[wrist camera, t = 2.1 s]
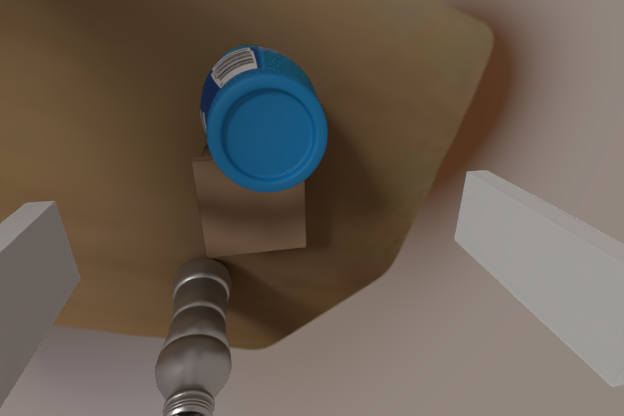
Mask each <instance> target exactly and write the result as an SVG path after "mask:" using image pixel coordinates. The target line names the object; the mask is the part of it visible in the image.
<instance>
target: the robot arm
mask: <svg viewBox="0 0 624 416" xmlns="http://www.w3.org/2000/svg"><path fill="white" fill-rule="evenodd" d="M454 240H455V241H456V242H457V243H458V244H459V245H460V246H461V247H462V248H463V249H465V250H466V251H467V252H468V253H469V254H470V255H471V256H472V257H473V258H474V259H475V260H476V261H477V262H478V263H480V264H481V265H482V266H483V267H484V268H485V269H486V270H487V271H488V272H489V273H490V274H491V275H492V276H494V277H495V278H496V279H497V280H498V281H499V282H500V283H501V284H502V285H503V286H504V287H505V288H506V289H507V290H509V291H510V292H511V293H512V294H513V295H514V296H515V297H516V298H517V299H518V300H519V301H520V302H521V303H522V304H523V305H525V306H526V307H527V308H528V309H529V310H530V311H531V312H532V313H533V314H534V315H535V316H536V317H537V318H538V319H540V320H541V321H542V322H543V323H544V324H545V325H546V326H547V327H548V328H549V329H551V331H552V332H553V333H555V334H556V335H557V336H558V337H559V338H560V339H561V340H562V341H563V342H564V343H565V344H567V346H568V347H570V348H571V349H572V350H573V351H574V352H575V353H576V354H577V355H578V356H579V357H580V358H581V359H582V360H584V361H585V362H586V363H587V364H588V365H589V366H590V367H591V368H592V369H593V370H594V371H595V372H596V373H597V374H599V375H600V376H601V377H602V378H603V379H604V380H605V381H606V382H607V383H608V384H609V385H610V386H611V387H614V386H620V385H624V244H623V243H621V242H619V241H617V240H615V239H614V238H612V237H610V236H608V235H606V234H604V233H602V232H601V231H599V230H597V229H595V228H593V227H591V226H589V225H588V224H586V223H584V222H582V221H580V220H578V219H576V218H575V217H572V216H570V215H569V214H567V213H565V212H563V211H561V210H560V209H558V208H556V207H554V206H552V205H550V204H548V203H547V202H545V201H543V200H541V199H539V198H537V197H536V196H534V195H532V194H530V193H528V192H526V191H524V190H523V189H521V188H519V187H517V186H515V185H513V184H511V183H509V182H508V181H506V180H504V179H502V178H500V177H498V176H497V175H495V174H493V173H491V172H489V171H487V170H483V171H470V172H467V174H466V180H465V185H464V190H463V196H462V201H461V206H460V212H459V217H458V222H457V228H456V233H455V239H454ZM79 281H80V276H79V273H78V269H77V266H76V263H75V260H74V257H73V254H72V251H71V248H70V245H69V242H68V239H67V236H66V233H65V229H64V226H63V223H62V220H61V217H60V214H59V211H58V208H57V205H56V202H55V201H46V202H32V203H25V204H24V205H23V206H21V207H20V208H19V209H18V210H17V211H15V212H14V213H13V214H12V215H10V216H9V217H8V218H7V219H6V220H4V221H3V222H2V223H1V224H0V407H1V406H2V404H3V402H4V401H5V399H6V398H7V396H8V395H9V393H10V391H11V390H12V388H13V386H14V385H15V383H16V382H17V380H18V378H19V377H20V375H21V374H22V372H23V371H24V369H25V367H26V366H27V364H28V363H29V361H30V359H31V358H32V356H33V354H34V353H35V351H36V350H37V348H38V346H39V344H40V343H41V342H42V340H43V338H44V337H45V335H46V334H47V332H48V330H49V329H50V327H51V326H52V324H53V322H54V321H55V319H56V318H57V316H58V314H59V313H60V311H61V310H62V308H63V306H64V305H65V303H66V302H67V300H68V298H69V297H70V295H71V294H72V292H73V290H74V289H75V287H76V286H77V284H78V282H79Z"/></svg>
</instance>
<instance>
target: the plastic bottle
mask: <svg viewBox="0 0 624 416" xmlns="http://www.w3.org/2000/svg"><path fill="white" fill-rule="evenodd" d="M230 291H231V279H230V276H229V273H228V270H227V269H226V267H225V266H224V265H223V264H221V263H220V262H218V261H215V260H212V259H206V258H203V259H196V260H193V261H191V262H188V263H187V264H185V265H184V266H183V267H182V268H181V269H180V270H179V272H178V274H177V276H176V277H175V279H174V282H173V301H174V304H173V317H172V321H171V325H170V328H169V331H168V335H167V338H166V340H165V343H164V345H163V348H162V350H161V352H160V354H159V357H158V360H157V363H156V366H155V378H156V383H157V387H158V389H159V390H160V392H161V394H162V395H163V397H164V398H165V400H166V401H165V404H164V408H163V416H212V414H213V411H214V404H215V402H214V398H215V397H216V396H217V394H218V393H219V392H220V391H221V389H222V388H223V387H224V385H225V384H226V382H227V380H228V377H229V375H230V371H231V354H230V349H229V344H228V339H227V334H226V319H225V316H226V308H227V302H228V299H229V296H230Z"/></svg>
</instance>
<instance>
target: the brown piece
mask: <svg viewBox="0 0 624 416" xmlns="http://www.w3.org/2000/svg"><path fill="white" fill-rule="evenodd" d="M192 167H193V173H194V179H195V186H196V192H197V198H198V204H199V211H200V217H201V223H202V230H203V236H204V242H205V249H206V255H207V258H213V257H222V256H230V255H239V254H248V253H257V252H266V251H275V250H284V249H293V248H302V247H306V216H305V180H304V181H303V182H301V183H300V184H298V185H296V186H294V187H292V188H290V189H287V190H283V191H279V192H271V193H265V192H256V191H252V190H249V189H246V188H243V187H241V186H239V185H237V184H236V183H234V182H233V181H231V180H230V179H229V178H228V177H226V176H225V175H224V174H223V173H222V171H221V170H220V169H219V168H218V166H217V165H216V163H215V161H214V160H213V157H212V156H211V153H210V151H209V146H208V144H207V145H206V146H205V147H204V151H203V155H202V157H195V158H193V159H192Z"/></svg>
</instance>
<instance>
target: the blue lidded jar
mask: <svg viewBox="0 0 624 416" xmlns="http://www.w3.org/2000/svg"><path fill="white" fill-rule="evenodd" d="M200 111H201V120H202V124H203V127H204V130H205V133H206V136H207V141H208V146H209V151H210V153H211V156H212V157H213V160H214V161H215V163H216V165H217V166H218V168H219V169H220V170H221V171H222V173H223V174H224V175H225V176H226V177H228V178H229V179H230V180H231V181H233V182H234V183H236V184H237V185H239V186H241V187H243V188H246V189H249V190H252V191H256V192H265V193H271V192H279V191H283V190H287V189H290V188H292V187H294V186H296V185H298V184H300V183H301V182H303V181H304V180H305V179H307V178H308V177H309V176H310V175H311V174H312V173H313V172H314V171H315V169H316V168H317V167H318V165H319V163H320V162H321V160H322V158H323V155H324V153H325V150H326V146H327V140H328V125H327V119H326V115H325V113H324V109H323V108H322V105H321V104H320V103H319V99H317V96H316V93H315V90H314V88H313V86H312V84H311V82H310V80H309V78H308V77H307V75H306V74H305V73H304V72H303V71H302V69H301V68H300V67H299V66H297V65H296V64H295V63H294V62H293V61H292V60H291V59H289V58H288V57H287V56H285V55H283V54H282V53H280V52H278V51H275V50H272V49H269V48H264V47H260V46H254V45H245V46H240V47H237V48H234V49H232V50H230V51H229V52H227V53H226V54H225V55H223V56H222V57H221V59H220V60H219V61H218V62H217V63H216V64H215V66H214V67H213V68H212V70H211V71H210V73H209V74H208V76H207V78H206V81H205V83H204V87H203V91H202V97H201V106H200Z"/></svg>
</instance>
